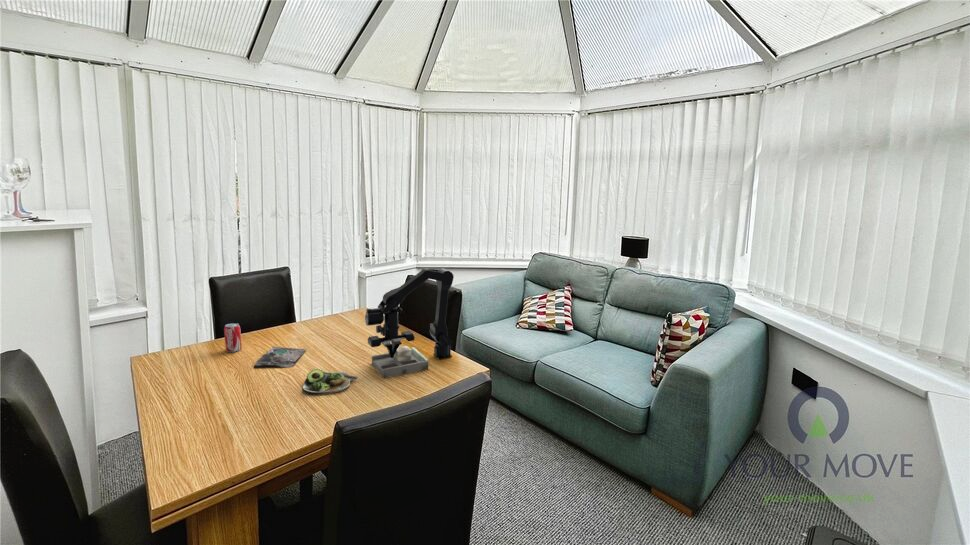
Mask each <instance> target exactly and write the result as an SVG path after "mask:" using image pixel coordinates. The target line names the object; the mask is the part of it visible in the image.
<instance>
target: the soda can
mask: <svg viewBox="0 0 970 545" xmlns="http://www.w3.org/2000/svg"><path fill="white" fill-rule="evenodd" d="M241 333H242V332H241V326H240V324H239V323H238V322H237V323H234V322H231V323H227V324H225V325H224V328H223V334H224V344H225V346H224V347H225V351H226V352H228V353H231V352H232V353H237V352H236V351H238V352H240V351H241V350H242V349H243V346H242V345H243V344H242V334H241ZM239 350H240V351H239Z"/></svg>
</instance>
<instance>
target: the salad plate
mask: <svg viewBox="0 0 970 545" xmlns="http://www.w3.org/2000/svg"><path fill="white" fill-rule="evenodd" d="M306 375H307V376H306V378H305V380H304V382H303V386H302V391H303V392H304V393H305V394H307V395H313V396H314V395H316V396H317V395H327V394H334V393H340V392H342V391H344V390H346V389H348V388H349V387H350V383H351V381H353V380H357V379H358V378H359V377H358V376H354V375H353V376H352V375H350V374H349V373H346V372H344V371H338V372H336V371H335V372H327V371H323V370H322V369H320V368H316V369H312V370H310V371H309V372H308V373H307V374H306ZM334 387H340V388H337V389H334V390H329V389H331V388H334Z"/></svg>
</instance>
